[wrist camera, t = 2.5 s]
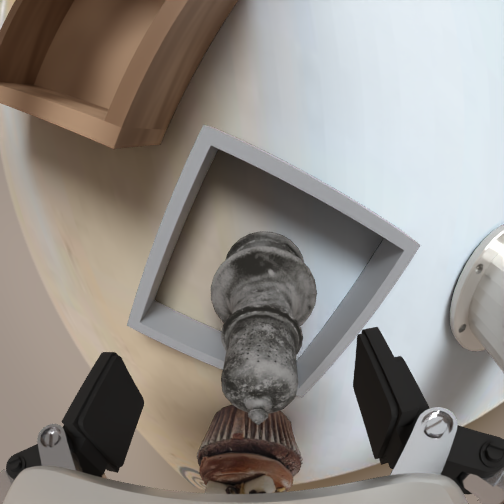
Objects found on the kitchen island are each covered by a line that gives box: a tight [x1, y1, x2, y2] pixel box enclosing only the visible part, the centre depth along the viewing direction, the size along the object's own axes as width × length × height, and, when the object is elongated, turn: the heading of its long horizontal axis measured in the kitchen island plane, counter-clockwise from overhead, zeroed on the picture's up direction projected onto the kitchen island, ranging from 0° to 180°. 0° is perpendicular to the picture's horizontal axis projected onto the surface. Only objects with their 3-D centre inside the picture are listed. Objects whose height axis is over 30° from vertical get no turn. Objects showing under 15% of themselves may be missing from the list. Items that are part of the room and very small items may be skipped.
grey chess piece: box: [211, 232, 317, 425], centre depth 14 cm, size 6×6×12 cm
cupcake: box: [197, 405, 303, 494], centre depth 21 cm, size 10×10×10 cm
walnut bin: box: [0, 0, 238, 149], centre depth 11 cm, size 13×13×6 cm
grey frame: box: [127, 125, 420, 397], centre depth 18 cm, size 14×14×3 cm
